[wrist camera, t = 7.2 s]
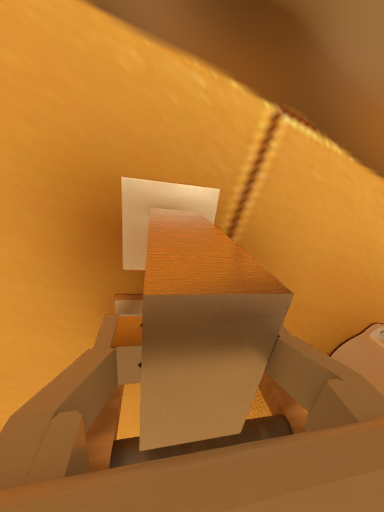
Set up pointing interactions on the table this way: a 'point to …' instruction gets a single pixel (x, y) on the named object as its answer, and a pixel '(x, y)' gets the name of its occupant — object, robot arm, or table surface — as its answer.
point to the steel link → (202, 330)
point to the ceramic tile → (157, 196)
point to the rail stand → (127, 450)
